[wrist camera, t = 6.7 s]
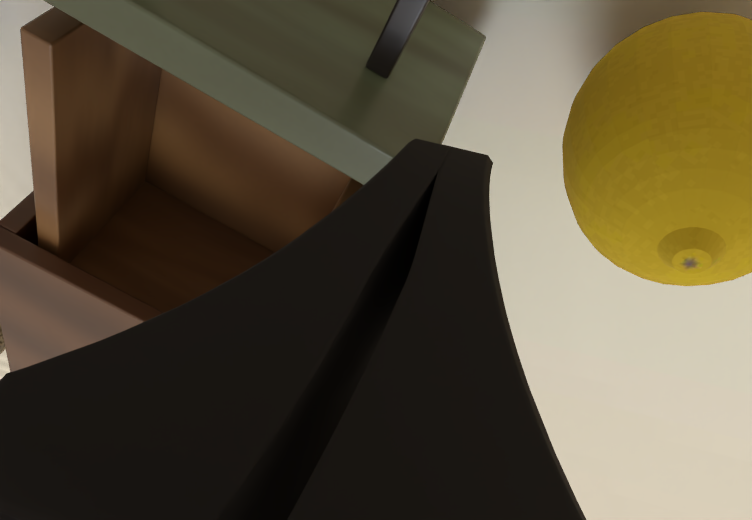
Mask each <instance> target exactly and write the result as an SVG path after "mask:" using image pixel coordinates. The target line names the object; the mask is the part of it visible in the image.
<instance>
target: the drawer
mask: <svg viewBox="0 0 752 520" xmlns="http://www.w3.org/2000/svg"><path fill="white" fill-rule="evenodd" d="M44 1H45V2H47V3H49V4H51V5H52V6H54V7H53V8H51V9H50V10H48V11H47V12H45V13H43V14H42V15H40V16H39V17H37V18H35V19H34V20H32V21H31V22H29V23H27V24H26V25H24V26H23V27H21V29H20V32H21V44H22V56H23V68H24V80H25V92H26V104H27V116H28V128H29V140H30V152H31V164H32V175H33V187H34V199H35V211H36V223H37V235H38V246H39V247H40V248H42V249H44V250H46V251H48V252H50V253H52V254H54V255H56V256H58V257H59V258H61V259H63V260H65V261H67V262H69V263H71V264H73V265H75V266H77V267H78V268H80V269H82V270H84V271H86V272H88V273H90V274H92V275H94V276H96V277H97V278H99V279H101V280H103V281H105V282H107V283H109V284H111V285H113V286H115V287H116V288H118V289H120V290H122V291H124V292H126V293H128V294H130V295H132V296H134V297H136V298H137V299H139V300H141V301H143V302H145V303H147V304H149V305H151V306H153V307H155V308H156V309H158V310H160V311H162V312H164V313H165V312H167V311H169V310H171V309H174V308H176V307H178V306H180V305H182V304H184V303H186V302H188V301H190V300H192V299H194V298H196V297H198V296H200V295H202V294H204V293H206V292H208V291H210V290H212V289H213V288H215V287H217V286H219V285H221V284H223V283H224V282H226V281H228V280H230V279H232V278H233V277H235V276H237V275H239V274H241V273H242V272H244V271H246V270H248V269H249V268H251V267H253V266H254V265H256V264H257V263H259V262H261V261H262V260H264V259H265V258H267V257H269V256H270V255H272V254H273V253H275V252H276V251H278V250H280V249H281V248H283V247H284V246H286V245H287V244H288V243H290V242H291V241H293V240H294V239H296V238H297V237H299V236H300V235H301V234H303V233H304V232H305V231H307V230H308V229H309V228H311V227H312V226H313V225H315V224H316V223H317V222H319V221H320V220H321V219H323V218H324V217H325V216H327V215H328V214H329V213H331V212H332V211H333V210H335V209H336V208H337V207H338V206H340V205H341V204H342V203H343V202H344V201H346V200H347V199H348V198H349V197H350V196H351V195H353V194H354V193H355V192H356V191H357V190H359V189H360V188H361V187H362V186H363V185H364V184H366V183H367V182H368V181H369V180H370V179H371V178H372V177H373V176H375V175H376V174H377V173H378V172H379V171H380V170H381V169H382V168H383V167H384V166H385V165H386V164H387V163H389V162H390V161H391V160H392V159H393V158H394V157H395V156H396V155H397V154H398V153H399V152H400V151H401V150H402V149H403V148H404V147H405V146H406V145H407V143H408V142H410V141H412V140H414V139H415V138H416V139H421V140H425V141H429V142H433V143H438V144H442V142H443V140H444V137H445V135H446V133H447V130H448V128H449V125H450V123H451V121H452V118H453V116H454V113H455V111H456V109H457V106H458V104H459V101H460V99H461V97H462V94H463V92H464V89H465V87H466V85H467V82H468V80H469V77H470V75H471V73H472V70H473V68H474V65H475V63H476V61H477V58H478V56H479V53H480V51H481V49H482V46H483V44H484V41H485V38H486V36H485V35H483V34H482V33H480V32H479V31H477V30H475V29H474V28H472V27H471V26H469V25H467V24H466V23H464V22H463V21H461V20H459V19H458V18H456V17H455V16H453V15H451V14H450V13H448V12H447V11H445V10H443V9H442V8H440V7H439V6H437V5H435V4H434V3H432V2H431V1H430V0H44Z"/></svg>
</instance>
